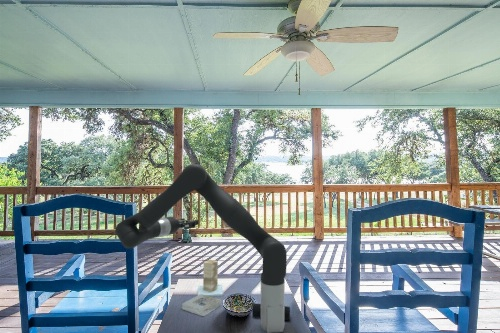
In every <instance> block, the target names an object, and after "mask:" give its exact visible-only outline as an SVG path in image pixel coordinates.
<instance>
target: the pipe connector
mask: <svg viewBox="0 0 500 333" xmlns="http://www.w3.org/2000/svg"><path fill="white" fill-rule="evenodd" d="M251 313H252V317H254V318H261V303H253V304H252V312H251ZM290 319H291V307H290V306H285V305H284V321H290Z"/></svg>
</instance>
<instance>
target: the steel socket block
mask: <svg viewBox="0 0 500 333" xmlns="http://www.w3.org/2000/svg"><path fill="white" fill-rule="evenodd" d="M201 304H203V305H201ZM181 306H182V307H181V308H182V309H181V310H183V311H185V312H188V313H191V314H195V315H197V316H201V317H205V316H207V315H208V314H210V313H211V312H213V311H215V310H216V309H218V308H221V306H222V299H221V298H216V297H214V296H206V295H203V294H200V295H198V294H197V295H196V296H194V297H192V298H189V299H188V300H187V301H185V302H182V304H181Z"/></svg>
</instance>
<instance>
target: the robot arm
mask: <svg viewBox="0 0 500 333" xmlns="http://www.w3.org/2000/svg"><path fill="white" fill-rule="evenodd" d="M193 191H195V192H196V193H198V194H199V195H200V196H202V197H203V199H204V200H206V202H207V203H208V205H209V206H210V207H211V208H212V210H213V211H214V212H215V213H216V215H218V216H217V217H219V218H220V219H221V220H222V221H223V222H224V223H225V224H226V225H227V226H228V227H229V228H230V229H231V230H233V231H234V232H235V233H237V235H239V236H241V237H243V238H245V239H246V240H247V241H248V243H250V244H251V246H252V247H254V248H255V250H256V251H257V252H258V254H259V255H260V257H262V272H261V274H260V304H261V317H260V328H261V329H262V330H263V331H264V332H266V333H283V332H284V329H285V320H284V306H285V279H286V276H287V256H288V255H287V249H286V246H284V244H283V243H282V242H280V240H278V239H277V238H275V237H273V235H271V234H269V233H268V232H267V231H266V230H265V229H264V228H262V227H261V226H260V225H259V223H258V222H257V220H256V219H255V218H254V217H253V215H252V214H251V213H250V212H249V211H248V209H246V208H245V207H244V205H242V203H240V202H239V201H238V199H236V198H235V197H234V196H232V195H231V194H229V192H227V191H226V190H224V188H222V187H221V186H220V185H219V184H217V182H216V181H215V180H214V179H213V178H212V177H211V175H209V173H208V172H207V170H206V169H205V168H204V167H203V166H202V165H200V164H197V163H192V164H189V165H187V166H185V167H184V168H183V169H182V172H181V173H180V174H179V175H178V176H177V178H176V179H175V180H174V181H173V182H172V183H171V184H170V185H169V186H168V187H167V188H166V189H165V190H164V191H162V192H161V193H160V194H159V195H157V196H155V198H153V199H152V200H151V201H150V202H149V203H148V204H147V205H145V206H144V207H142V209H141V210H140V211H138V212H137V213H135V214H133V215H131V216H129V217H126V218H125V219H122V220H121V221H119V222H118V223H117V225H116V226H115V229H114V232H115V235H116V236H117V237H118V239H119V241H120V243H121V245H122V246H123V247H124V248H125V249H134V248H136V247H137V246H139V245H141V244H142V243H144V242H146V241H148V240H151V239H155V238H163V237H165V236H166V237H168V236H171V235H175V234H176V233H177V232H178V230H183V229H184V230H188V229H192V228H196V226H198V225H199V223H200V222H199V221H200V220H199V219H193V220H188V219H185V218H175V217H174V216H165V215H166V214H167V213H168V212H169V211H170V210H171V209H172V208H173V207H174V206H176V204H177V203H179V202H180V201H181V200H182V199H183V198H185V197H186V196H187V195H189V194H190V193H193ZM164 216H165V217H164ZM138 224H139V226H137V225H138Z"/></svg>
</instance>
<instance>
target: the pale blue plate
mask: <svg viewBox="0 0 500 333" xmlns="http://www.w3.org/2000/svg"><path fill="white" fill-rule="evenodd" d="M197 292H198V293H197V296H198V295H200V294H203V295H206V296H210V297H222V296H224V290H223V284H218V286H217V290H215V291H213V292H207V291H203V285H198V290H197Z"/></svg>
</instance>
